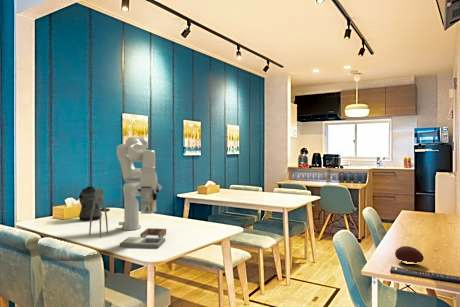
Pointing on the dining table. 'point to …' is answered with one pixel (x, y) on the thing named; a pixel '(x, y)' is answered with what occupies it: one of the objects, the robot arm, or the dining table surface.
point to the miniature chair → (99, 200)
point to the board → (142, 242)
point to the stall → (154, 232)
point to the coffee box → (147, 200)
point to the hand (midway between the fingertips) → (148, 199)
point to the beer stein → (88, 205)
